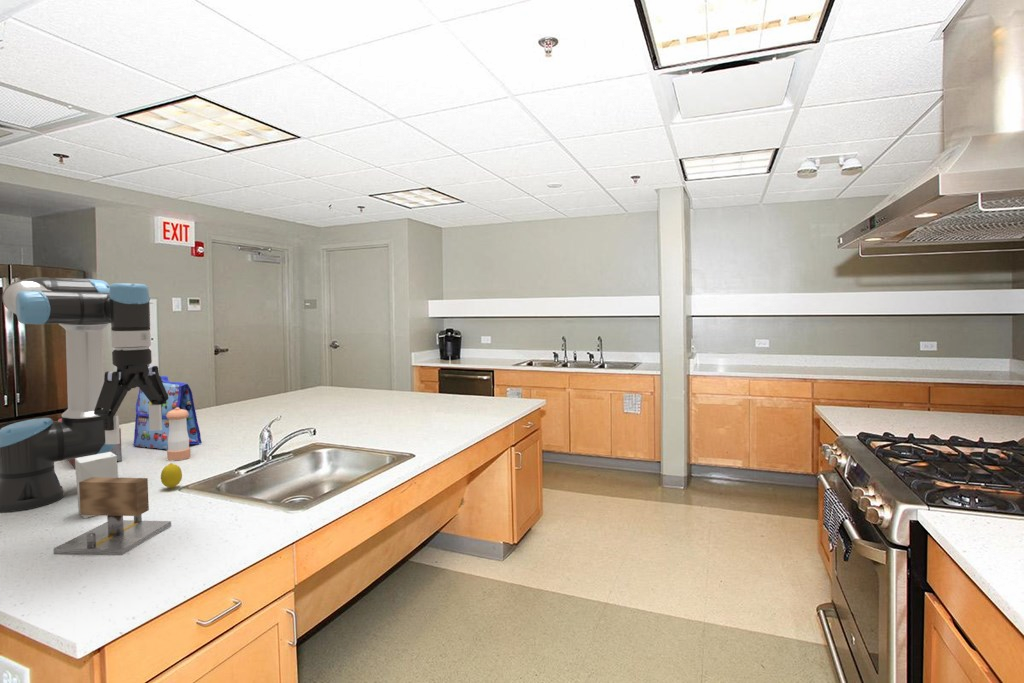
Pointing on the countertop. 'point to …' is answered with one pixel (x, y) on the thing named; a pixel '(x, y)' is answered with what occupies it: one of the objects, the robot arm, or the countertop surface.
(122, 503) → the wooden block
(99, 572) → the countertop surface
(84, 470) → the skincare box
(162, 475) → the lemon
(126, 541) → the base plate
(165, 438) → the lunch bag
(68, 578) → the countertop surface
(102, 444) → the robot arm
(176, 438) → the pink and white bottle
